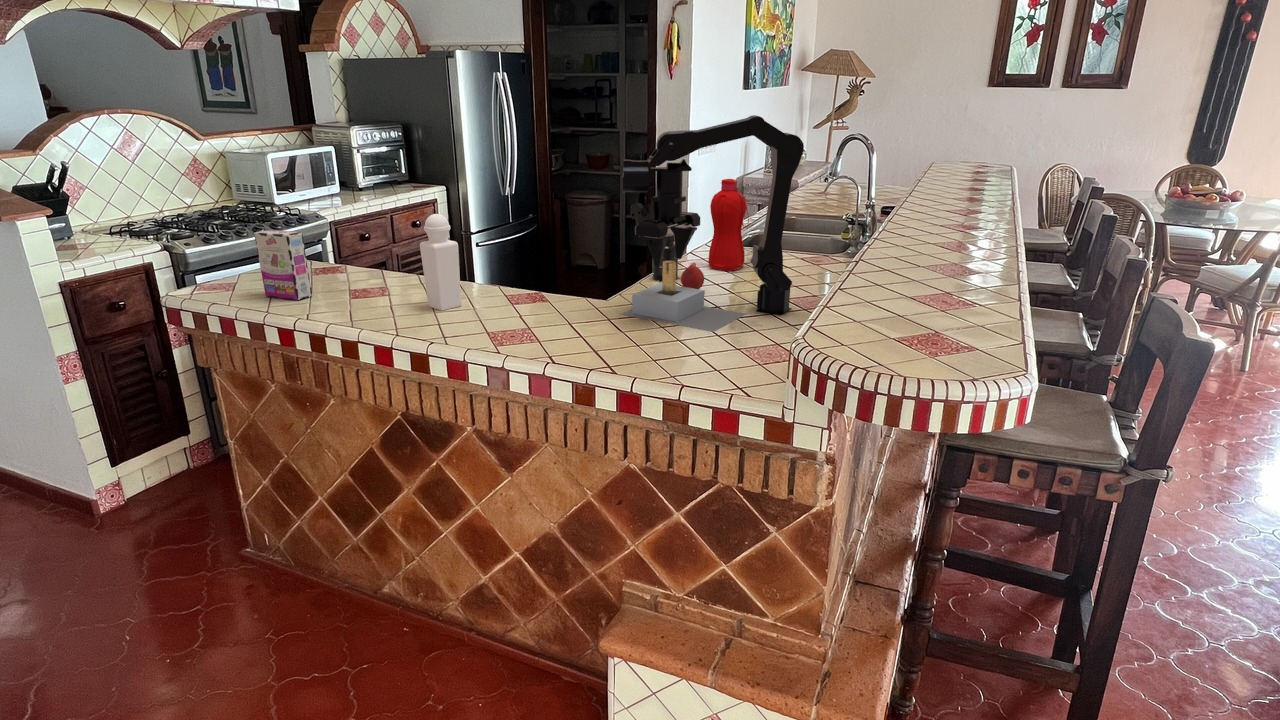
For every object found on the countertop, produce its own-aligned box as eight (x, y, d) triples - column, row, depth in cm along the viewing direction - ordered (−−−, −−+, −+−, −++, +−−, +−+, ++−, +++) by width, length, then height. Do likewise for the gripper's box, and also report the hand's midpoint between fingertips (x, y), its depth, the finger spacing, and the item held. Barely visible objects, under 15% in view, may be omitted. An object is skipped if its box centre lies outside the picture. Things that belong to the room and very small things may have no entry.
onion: (695, 297, 184) (696, 266, 181) (676, 294, 187) (676, 263, 184) (708, 293, 188) (708, 261, 185) (689, 289, 191) (689, 258, 188)
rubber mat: (746, 315, 169) (746, 313, 169) (713, 334, 157) (713, 331, 156) (657, 300, 182) (657, 298, 181) (620, 316, 169) (620, 314, 169)
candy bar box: (313, 296, 187) (303, 231, 181) (298, 301, 182) (287, 235, 177) (280, 292, 191) (269, 228, 185) (264, 297, 186) (252, 231, 181)
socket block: (703, 308, 173) (704, 290, 171) (677, 321, 163) (677, 302, 162) (660, 301, 179) (660, 283, 177) (632, 313, 170) (632, 294, 168)
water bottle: (739, 273, 207) (743, 182, 198) (704, 269, 213) (706, 179, 204) (753, 267, 214) (757, 178, 206) (719, 262, 220) (722, 176, 211)
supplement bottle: (647, 279, 201) (647, 235, 197) (661, 274, 207) (661, 231, 203) (668, 282, 198) (669, 238, 194) (682, 277, 203) (683, 234, 199)
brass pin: (677, 304, 171) (678, 261, 167) (670, 307, 169) (671, 264, 165) (666, 302, 172) (667, 260, 169) (659, 305, 170) (660, 262, 167)
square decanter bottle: (464, 306, 178) (456, 213, 170) (440, 312, 173) (431, 217, 166) (449, 301, 182) (440, 210, 174) (425, 306, 177) (415, 214, 170)
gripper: (660, 185, 173) (660, 251, 179) (614, 194, 159) (615, 265, 164) (702, 188, 167) (700, 256, 173) (658, 198, 153) (657, 272, 158)
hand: (668, 262), depth 167 cm, fingers open, 9 cm apart
